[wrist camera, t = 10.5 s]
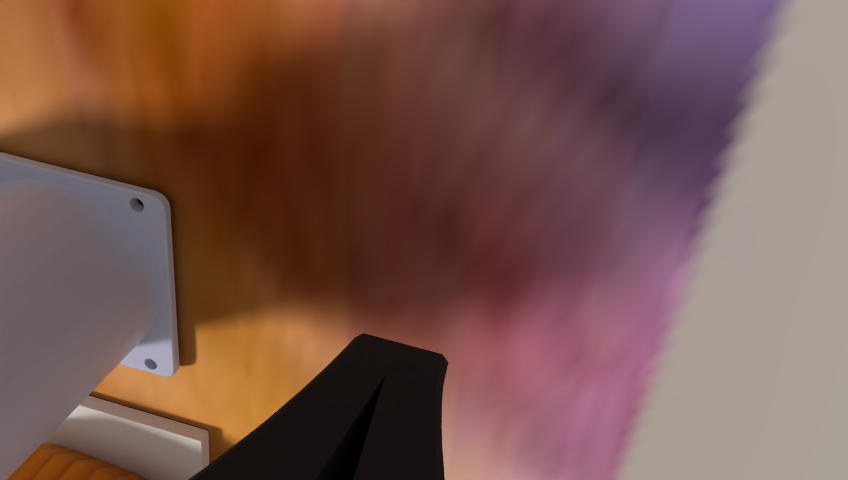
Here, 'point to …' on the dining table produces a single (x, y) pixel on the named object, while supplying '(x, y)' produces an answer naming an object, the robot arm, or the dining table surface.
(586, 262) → the dining table surface
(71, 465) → the carrot
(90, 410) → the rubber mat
